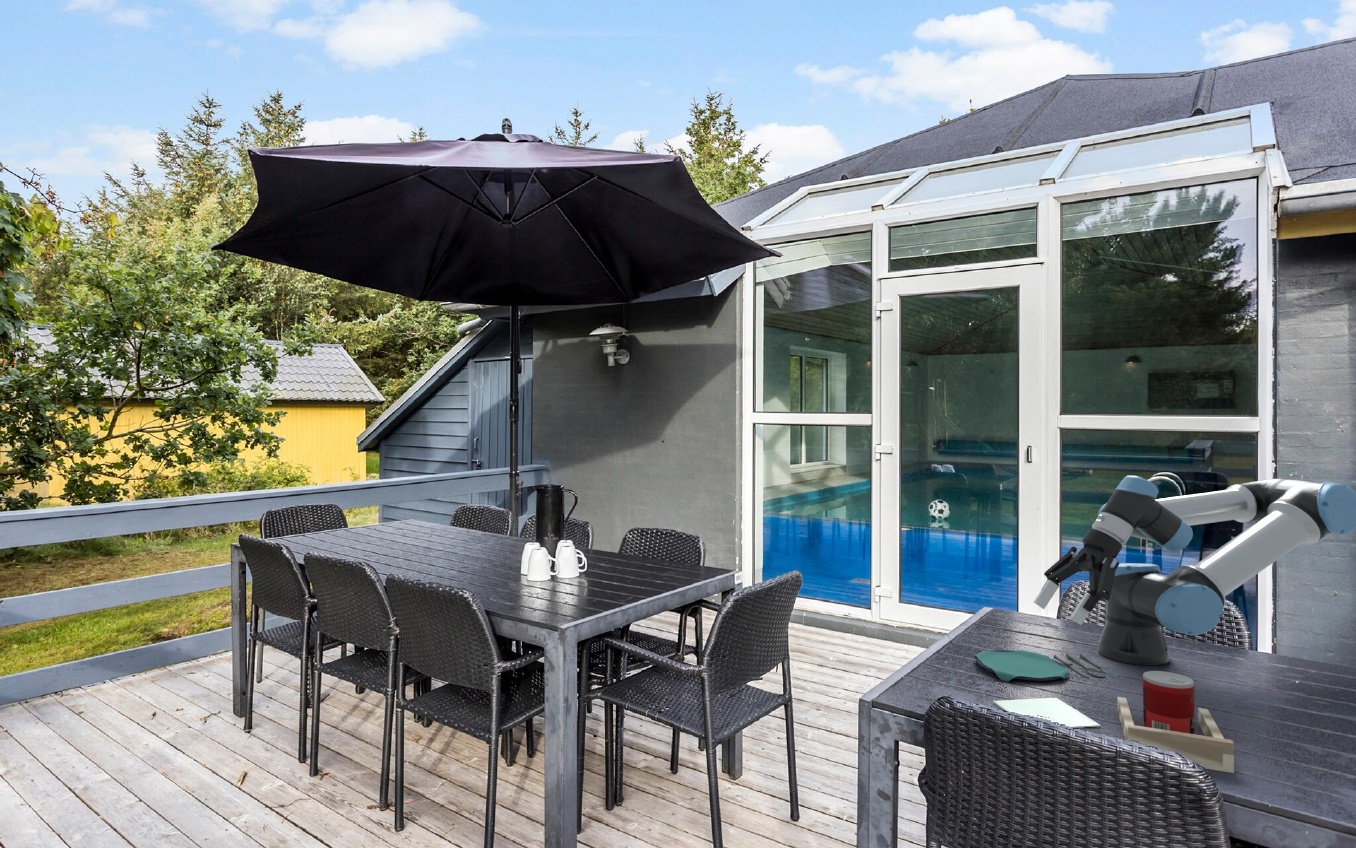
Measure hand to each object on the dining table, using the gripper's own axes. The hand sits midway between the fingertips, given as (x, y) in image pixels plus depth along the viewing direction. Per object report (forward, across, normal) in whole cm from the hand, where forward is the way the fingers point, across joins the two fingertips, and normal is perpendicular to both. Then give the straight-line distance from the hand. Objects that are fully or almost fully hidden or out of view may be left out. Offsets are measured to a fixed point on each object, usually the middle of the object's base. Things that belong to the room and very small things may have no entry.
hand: (1056, 613), depth 165 cm
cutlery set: (+12, -7, +10) cm, 18 cm away
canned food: (+11, +30, +11) cm, 34 cm away
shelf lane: (+11, +30, +11) cm, 34 cm away
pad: (+21, +18, -2) cm, 27 cm away
